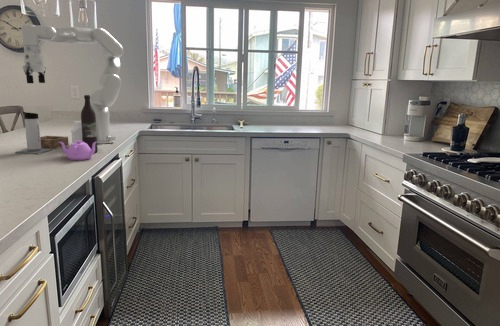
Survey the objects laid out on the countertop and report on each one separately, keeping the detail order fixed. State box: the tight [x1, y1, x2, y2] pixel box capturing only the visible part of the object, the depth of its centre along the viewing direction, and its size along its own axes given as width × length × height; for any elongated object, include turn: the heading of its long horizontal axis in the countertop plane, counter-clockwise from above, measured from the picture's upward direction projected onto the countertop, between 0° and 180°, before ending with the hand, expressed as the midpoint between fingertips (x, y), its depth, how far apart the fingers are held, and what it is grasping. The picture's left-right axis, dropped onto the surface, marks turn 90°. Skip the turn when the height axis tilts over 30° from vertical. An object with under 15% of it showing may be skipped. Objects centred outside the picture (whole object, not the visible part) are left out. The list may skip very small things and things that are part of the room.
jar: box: [70, 120, 83, 144], centre depth 203 cm, size 12×10×15 cm
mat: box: [15, 148, 54, 155], centre depth 190 cm, size 12×12×1 cm
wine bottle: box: [80, 94, 98, 154], centre depth 189 cm, size 7×7×30 cm
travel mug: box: [22, 111, 41, 151], centre depth 188 cm, size 6×7×20 cm
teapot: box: [59, 140, 98, 161], centre depth 177 cm, size 12×14×9 cm
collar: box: [40, 135, 69, 150], centre depth 204 cm, size 13×13×5 cm
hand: (36, 83), depth 194 cm, fingers open, 9 cm apart
